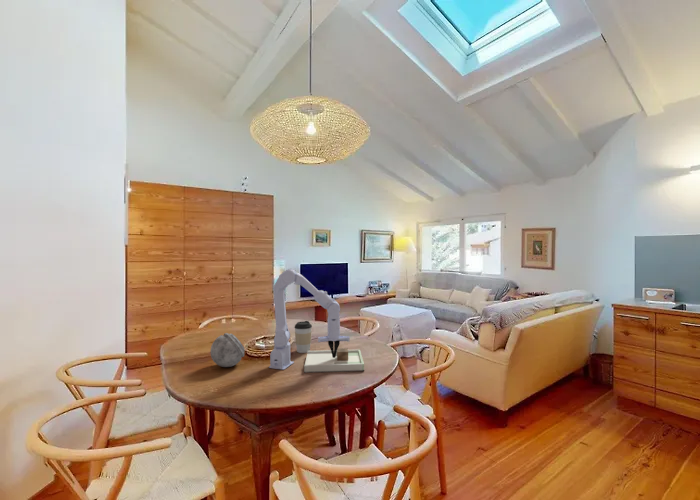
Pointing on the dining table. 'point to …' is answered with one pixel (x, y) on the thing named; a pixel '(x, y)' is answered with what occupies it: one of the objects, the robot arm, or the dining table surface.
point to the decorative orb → (227, 350)
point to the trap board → (332, 362)
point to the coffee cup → (303, 336)
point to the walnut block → (342, 354)
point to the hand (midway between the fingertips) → (333, 356)
